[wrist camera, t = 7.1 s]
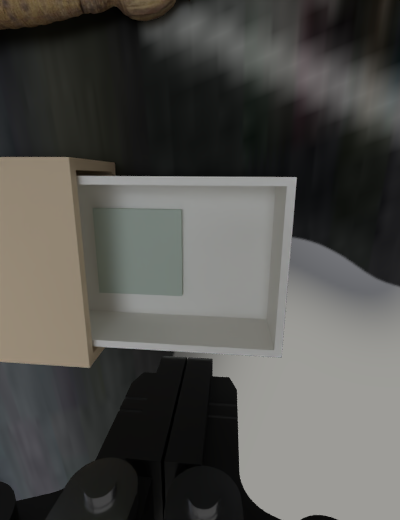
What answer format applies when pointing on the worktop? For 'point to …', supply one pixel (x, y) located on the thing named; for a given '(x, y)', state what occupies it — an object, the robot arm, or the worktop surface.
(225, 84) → the worktop surface
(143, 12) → the sword hilt
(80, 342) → the sleeve
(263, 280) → the tray
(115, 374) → the worktop surface
